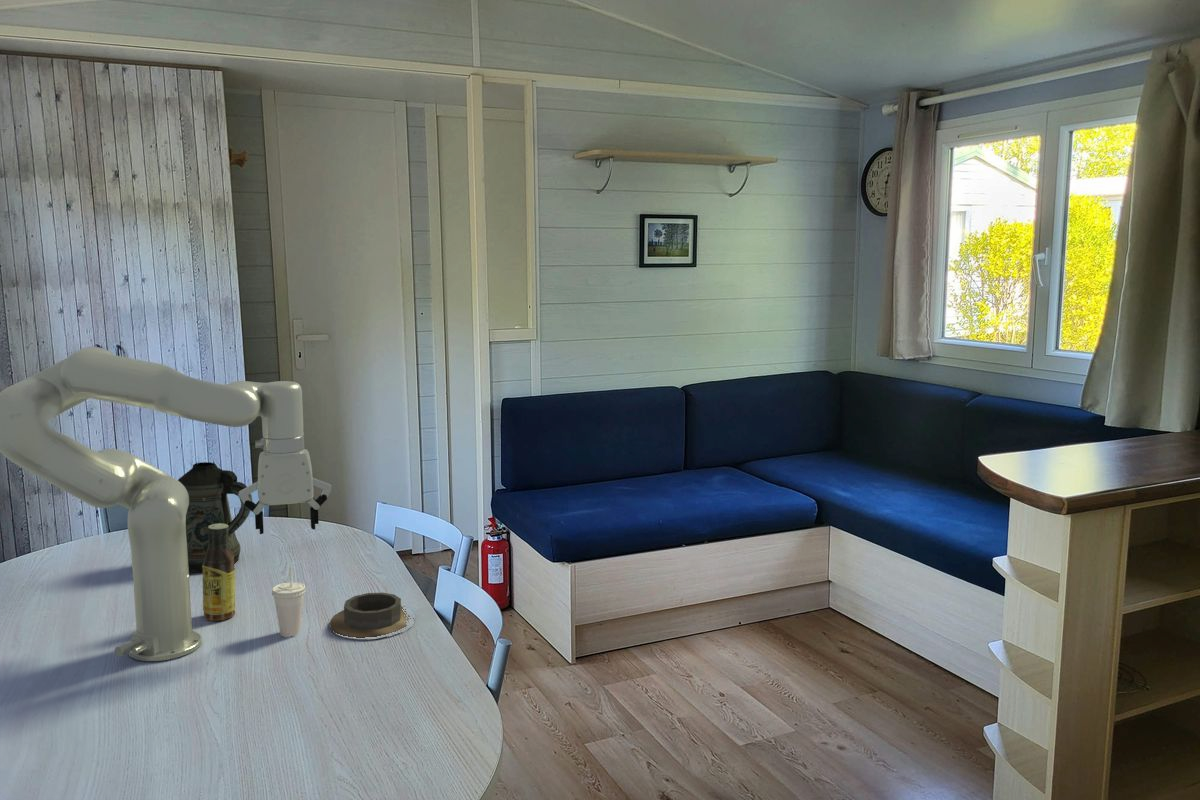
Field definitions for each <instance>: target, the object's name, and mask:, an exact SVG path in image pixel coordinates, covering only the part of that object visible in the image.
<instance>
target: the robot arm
mask: <svg viewBox="0 0 1200 800" xmlns="http://www.w3.org/2000/svg"><path fill="white" fill-rule="evenodd" d="M302 389H303V388H302V386H301V385H300V384H299V383H298V382H296V381H289V380H280V381H279V380H278V381H277V380H276V381H270V382H259V381H257V382H256V381H248V380H247V381H246V380H235V381H231V382H230V383H227V384H222V383H217V382H211V381H207V380H203V379H199V378H195V377H191V376H189V375H185V374H183V373H182V372H180V371H178V370H176V369H175V368H173V367H171V366H168V365H166V364H162V363H159V362H152V361H148V360H141V359H137V358H136V359H135V358H131V357H127V356H126V357H125V356H120V355H117V354H114V353H112V352H111V351H109V350H107V349H105V348H102V347H99V346H87V347H83V348H81V349H78V350H77V351H74V352H72V353H71V354H69V355H68V356H67V357H66V358H64V359H62V360H60V361H59V362H56V363H54V364H53V365H51V366H49V367H47V368H45V369H43V370H41V371H38V372H37V373H35V374H32V375H31V376H29V377H27V378H24V379H23V380H21V381H19V382H16V383H13V384H11V385H10V386H8V387H6V388H4V389H3V390H1V392H0V453H1V454H2V455H3V456H4V457H5V458H6V459H7V460H9V461H10V462H12V463H13V464H15V465H16V466H18V467H20V468H22V469H24V470H25V471H26V472H29V473H30V474H32V475H35V476H37V477H38V478H41V479H42V480H45V481H46V482H47V483H49V484H51V485H53V486H54V487H56V488H58V489H60V490H61V491H64V492H65V493H68V494H70V495H72V496H73V497H75V498H77V499H79V500H80V501H82V502H83V503H85V504H88V505H89V506H92V507H95V508H99V509H107V508H112V507H115V506H117V505H120V506H122V507H123V508H125V509H128V512H127V531H128V533H127V534H128V540H129V545H130V553H131V568H132V579H133V597H134V612H135V627H136V630H134V631H133V632H131V638H130V639H128V641H127V642H124V643H122V644H119V645H118V646H115V648H114V654H115V655H116V656H117V657H123V656H125V655H126V654H128V655H129V657H130V658H132V659H133V660H136V661H141V662H162V661H169V660H173V659H177V658H180V657H183V656H186V655H188V654H190V653H193V652H194V651H196V650H197V649H198V648H200V646H201V644H202V636H201V634H199V632H197V631H194V630H193V626H192V625H193V624H192V607H191V587H190V573H189V566H188V550H187V538H186V513H187V509H188V506H189V495H188V492H187V490H186V488H185V487H184V486H183V484H182V483H180V482H179V481H178V479H176V478H175V477H173V476H171V474H170V475H169V474H168V473H167V472H164V471H162V470H161V469H158V468H157V467H155V466H153V465H151V464H150V463H148V462H147V461H144V460H143V459H141V458H139V457H138V456H135V455H134V454H131V453H129V452H127V451H125V450H121V449H119V448H104V449H100V450H97V451H96V450H94V449H92V448H91V447H88V446H86V445H85V444H83V443H81V442H79V441H78V440H76V439H74V438H72V437H71V436H68V435H66V434H64V433H61V432H59V431H56V430H54V429H53V428H52V427H51V426H50V425H49V424H48V422H50V421H51V420H52V419H54V418H56V417H58V416H59V415H61V414H63V413H64V412H66V411H68V410H71V409H72V408H74V407H75V406H77V405H79V404H81V403H83V402H86V401H87V400H89V399H91V400H99V401H102V402H110V403H114V404H115V403H116V404H119V405H121V404H122V405H125V406H132V407H138V408H143V409H149V410H153V411H156V412H160V413H163V414H168V415H173V416H175V417H179V418H183V419H184V418H185V419H188V420H192V421H197V422H201V423H207V424H213V425H219V426H224V427H225V426H226V427H231V428H240V427H241V428H242V427H245V426H248V425H250V424H252V423H253V422H254V421H255V420H256V419H257V417H261V425H262V426H261V427H262V438H261V439H259V440H255V441H254V444H255V448H256V449H257V448H259V449H262V450H263V451H262V452H261V451H260V453H259V457H258V463H257V481H256V482H253V483H251V484H250V485H248V486H247V487H246V488H244V489H243V490H241V491H239V493H238V495H239V497H240V498H239V497H238V498H239V500H240V499H241V500H242V502H243V503H244V505H245V506H246V507H247V508H248V509H249V510H251V511H250V512H252V513H253V515H254V520H255V521H254V522H255V523H254V524H255V530H259V535H263V534H264V531H265V530H264V514H263V513H264V512H263V509H264V508H265V507H266V506H278V505H279V506H280V505H282V506H283V505H292V504H303V503H307V504H309V506H310V508H309V515H310V528H311V530H316V525H317V524H319V509H320V507H321V506H322V505H323V504H325V502H326V501H327V500H328V497H329V496H330V493H331V491H332V490H333V486H332V484H330V483H328V482H326V481H323V480H321V479H318V478H315V477H313V467H312V461H311V456H310V452H309V450H308V449H307V448H306V449H305V439H304V438H305V433H304V432H305V431H304V430H305V429H304V412H303V411H304V409H303V390H302ZM314 486H315V487H316V488H319V489H321V490H322V492H321V494H320V495H319V496H318V497H317V498H315V497H314ZM256 491H257V496H258V501H257V502H256V503H255V502H253V500H252V501H251V500H250V499H249V497H248V495H249V494H251V495H252V493H254V492H256Z"/></svg>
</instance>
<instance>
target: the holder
mask: <svg viewBox="0 0 1200 800" xmlns="http://www.w3.org/2000/svg"><path fill="white" fill-rule="evenodd" d="M402 606H403V607H405V605H402V598H400V597H399V596H397V595H396V594H394V593H387V592H383V591H382V592H368V593H367V592H366V593H362V594H357V595H353V596H352V597H350V598H348V599H347V600H345V602H344V605H343V609H342V610H340V611H339V612H337V613H335V614H334V615H333V616H332V617H331V619H330V621H329V622H330V623H329V624H330V625H329V626H331V627H330V630H331V629H332V630H333V631H334V632H335V633H337V634H340V635H343V636H348V637H356V638H365V637H377V636H381V635H386V634H389V633H392V632H396V631H398V630H400V629H402V628H404V627H406V626H407V625H406V623H407V622H406V620H407V621H408V620H409V618H408V617H410V616H409V615H408V617H407V616H406V614H407V613H406V614H405V613H404V612H406V611H404V612H403V610H404V609H403V607H402ZM402 609H403V610H402ZM405 610H406V609H405ZM404 615H405V616H404ZM406 617H407V619H406ZM410 619H411V618H410ZM413 619H414V618H413ZM404 621H405V622H404ZM408 622H409V621H408Z"/></svg>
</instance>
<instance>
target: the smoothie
mask: <svg viewBox="0 0 1200 800" xmlns="http://www.w3.org/2000/svg"><path fill="white" fill-rule="evenodd" d="M288 570H289V571H288V572H289V581H288V582H284V583H283V582H282V583H280V584H276V585H275V586H273V587H272V589H271V595H272V596H273V599H274V605H275V609H276V616H277V621H278V627H279V634H280V636H281V637H282V636H284V637H283V638H292V637H291V636H294V637H296V636H295V635H297V634H299V633H301V626H302V617H303V616H302V615H303V607H304V595H305V593H306V591H307V590H306V585H305V584H304V583H302V582H298V581H297V582H296V581H294V580H293V578H294V577H293V566H289V568H288ZM299 635H300V634H299ZM297 636H298V635H297Z"/></svg>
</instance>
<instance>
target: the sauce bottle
mask: <svg viewBox="0 0 1200 800" xmlns="http://www.w3.org/2000/svg"><path fill="white" fill-rule="evenodd" d="M228 532H229V526H228V525H227V524H222V523H219V524H212V525H210V526H208V532H207V533H208V535H209V544H208V549H207V552H206V555H205V559H204V562H203V565H202V573H201V574H202V611H203V617H204V619H205V620H206V621H209V622H222V621H225V620H228V619H232V618H233V617H234V616H235V614H236V568H235V565H234V555H233V553H232V552H231V550H230V549H229V546H228Z"/></svg>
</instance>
